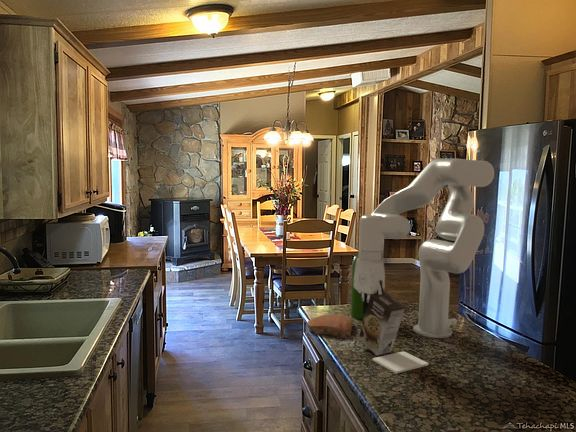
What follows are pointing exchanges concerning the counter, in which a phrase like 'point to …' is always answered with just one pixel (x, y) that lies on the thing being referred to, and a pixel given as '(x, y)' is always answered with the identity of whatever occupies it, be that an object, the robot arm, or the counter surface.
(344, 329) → the ceramic shard
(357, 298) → the wine bottle
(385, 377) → the counter surface
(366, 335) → the coffee box
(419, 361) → the white flat panel
